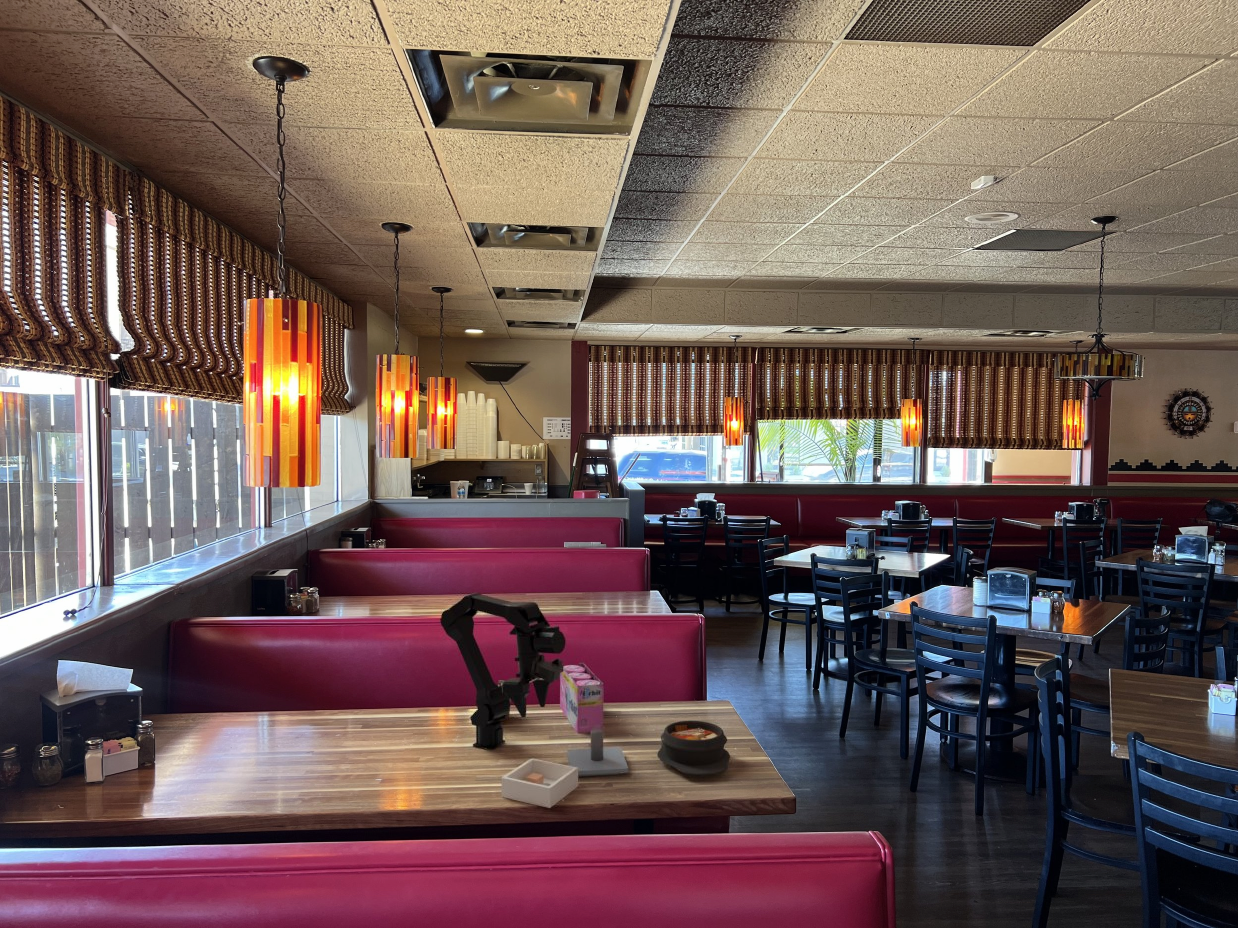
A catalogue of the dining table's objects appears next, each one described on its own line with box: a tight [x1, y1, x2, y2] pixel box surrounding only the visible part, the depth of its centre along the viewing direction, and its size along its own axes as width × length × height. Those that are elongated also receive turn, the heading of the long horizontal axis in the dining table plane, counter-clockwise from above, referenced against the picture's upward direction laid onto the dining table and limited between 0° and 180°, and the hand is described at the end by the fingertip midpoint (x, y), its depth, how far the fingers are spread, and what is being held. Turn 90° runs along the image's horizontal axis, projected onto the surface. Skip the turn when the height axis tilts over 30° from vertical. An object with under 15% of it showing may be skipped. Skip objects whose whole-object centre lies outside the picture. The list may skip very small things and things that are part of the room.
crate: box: [501, 757, 579, 809], centre depth 197 cm, size 13×13×4 cm
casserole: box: [656, 720, 731, 776], centre depth 215 cm, size 25×19×8 cm
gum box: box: [559, 662, 605, 734], centre depth 248 cm, size 24×8×14 cm, turn 17°
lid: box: [566, 729, 629, 777], centre depth 212 cm, size 14×14×9 cm
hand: (533, 711), depth 218 cm, fingers open, 9 cm apart
